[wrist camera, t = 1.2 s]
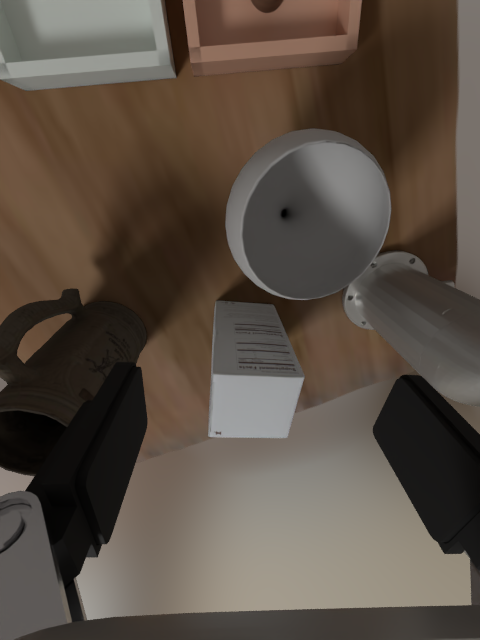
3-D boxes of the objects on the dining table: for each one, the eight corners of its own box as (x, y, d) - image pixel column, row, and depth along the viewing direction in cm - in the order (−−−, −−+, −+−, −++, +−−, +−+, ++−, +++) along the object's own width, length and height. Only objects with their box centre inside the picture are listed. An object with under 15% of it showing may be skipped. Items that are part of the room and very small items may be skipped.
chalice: (240, 126, 29) (257, 83, 15) (351, 165, 31) (446, 157, 18) (213, 249, 35) (209, 293, 22) (307, 273, 37) (354, 325, 24)
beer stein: (162, 349, 42) (113, 463, 24) (105, 371, 43) (18, 494, 25) (107, 263, 36) (-14, 329, 18) (43, 291, 37) (-131, 379, 19)
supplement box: (265, 353, 44) (288, 441, 29) (211, 350, 43) (207, 441, 28) (275, 302, 39) (307, 377, 25) (214, 298, 38) (211, 373, 24)
